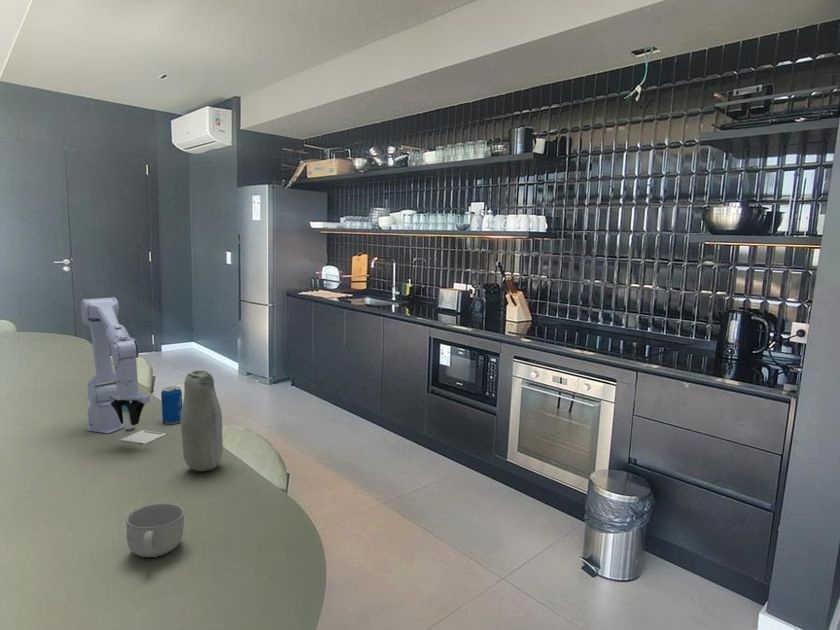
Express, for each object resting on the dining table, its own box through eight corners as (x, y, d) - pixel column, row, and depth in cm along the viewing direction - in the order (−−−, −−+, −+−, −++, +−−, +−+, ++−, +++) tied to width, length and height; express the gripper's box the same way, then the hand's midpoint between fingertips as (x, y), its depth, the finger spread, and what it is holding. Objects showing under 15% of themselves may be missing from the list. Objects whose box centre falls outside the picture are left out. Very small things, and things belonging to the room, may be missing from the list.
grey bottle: (230, 464, 154) (226, 368, 150) (205, 479, 145) (200, 377, 141) (202, 459, 157) (197, 365, 153) (175, 473, 148) (170, 374, 144)
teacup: (141, 536, 117) (139, 501, 116) (193, 534, 118) (191, 500, 117) (110, 576, 103) (107, 537, 102) (169, 573, 104) (167, 535, 103)
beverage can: (175, 425, 185) (173, 391, 183) (158, 424, 186) (156, 390, 184) (187, 419, 191) (185, 386, 189) (170, 418, 192) (168, 385, 191)
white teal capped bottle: (120, 431, 163) (118, 406, 162) (130, 427, 167) (128, 402, 166) (130, 433, 162) (128, 407, 161) (140, 428, 166) (138, 403, 164)
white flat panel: (120, 440, 171) (120, 439, 171) (142, 431, 179) (142, 429, 179) (145, 444, 168) (145, 443, 168) (167, 434, 176) (167, 433, 176)
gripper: (96, 381, 161) (99, 425, 162) (135, 385, 156) (138, 430, 158) (116, 375, 167) (119, 417, 169) (154, 379, 163) (156, 422, 165)
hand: (129, 423), depth 164 cm, fingers closed on white teal capped bottle, 3 cm apart
